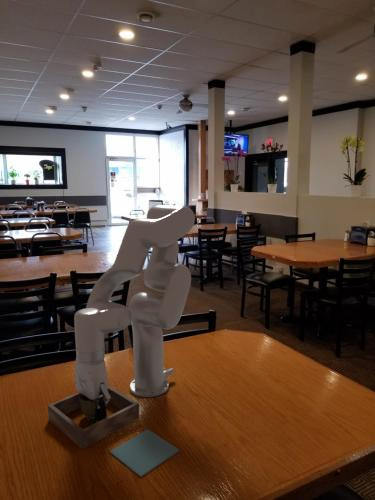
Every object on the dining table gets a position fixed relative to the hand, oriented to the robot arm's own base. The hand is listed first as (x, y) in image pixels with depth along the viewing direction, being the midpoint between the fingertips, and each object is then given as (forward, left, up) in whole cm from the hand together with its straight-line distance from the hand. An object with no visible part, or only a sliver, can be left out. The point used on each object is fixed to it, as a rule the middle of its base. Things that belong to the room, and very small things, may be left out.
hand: (93, 413), depth 107 cm
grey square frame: (0, 0, -2) cm, 2 cm away
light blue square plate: (-1, +21, -2) cm, 21 cm away
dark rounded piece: (0, 0, -2) cm, 2 cm away
